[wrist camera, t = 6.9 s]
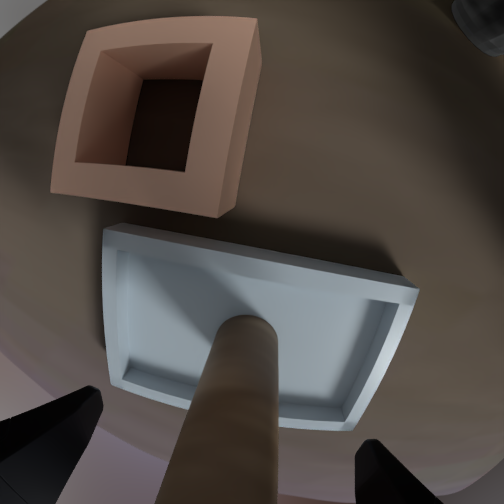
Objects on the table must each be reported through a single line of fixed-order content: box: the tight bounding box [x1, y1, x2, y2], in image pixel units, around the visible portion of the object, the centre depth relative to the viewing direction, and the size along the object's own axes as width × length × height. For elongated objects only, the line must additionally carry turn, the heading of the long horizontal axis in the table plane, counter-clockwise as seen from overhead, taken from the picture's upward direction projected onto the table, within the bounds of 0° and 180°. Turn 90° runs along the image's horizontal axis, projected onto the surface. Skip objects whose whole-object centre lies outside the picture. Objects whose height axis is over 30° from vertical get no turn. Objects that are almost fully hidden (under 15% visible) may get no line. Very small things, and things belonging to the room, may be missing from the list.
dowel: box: [155, 315, 279, 504], centre depth 8 cm, size 3×3×10 cm
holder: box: [50, 16, 262, 218], centre depth 9 cm, size 7×7×4 cm
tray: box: [102, 223, 420, 431], centre depth 13 cm, size 14×9×2 cm, turn 80°
